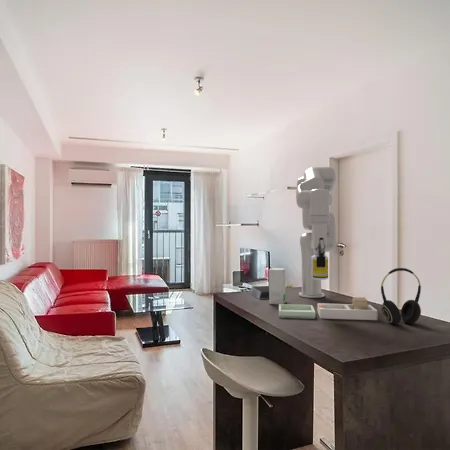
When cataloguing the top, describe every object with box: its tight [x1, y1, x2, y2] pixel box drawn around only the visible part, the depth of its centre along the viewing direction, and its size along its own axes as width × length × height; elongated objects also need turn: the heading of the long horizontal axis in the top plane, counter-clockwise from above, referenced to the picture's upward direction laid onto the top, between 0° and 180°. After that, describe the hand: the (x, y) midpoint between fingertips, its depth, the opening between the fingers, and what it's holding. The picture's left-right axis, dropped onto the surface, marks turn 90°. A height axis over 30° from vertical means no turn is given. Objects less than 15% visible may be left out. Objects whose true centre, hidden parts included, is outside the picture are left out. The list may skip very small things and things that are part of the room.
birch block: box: [352, 296, 368, 310], centre depth 142 cm, size 4×4×7 cm
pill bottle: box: [311, 249, 329, 281], centre depth 145 cm, size 6×6×12 cm
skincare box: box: [268, 267, 286, 306], centre depth 168 cm, size 8×7×16 cm
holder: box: [317, 303, 378, 321], centre depth 143 cm, size 10×21×4 cm, turn 82°
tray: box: [278, 303, 316, 320], centre depth 146 cm, size 13×14×2 cm
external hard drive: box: [249, 285, 269, 300], centre depth 186 cm, size 13×19×4 cm
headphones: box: [380, 267, 422, 325], centre depth 132 cm, size 9×15×20 cm, turn 95°
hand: (319, 265), depth 145 cm, fingers closed on pill bottle, 6 cm apart
